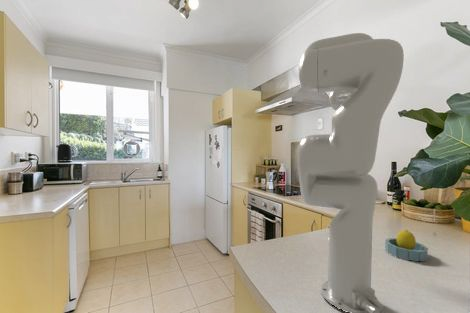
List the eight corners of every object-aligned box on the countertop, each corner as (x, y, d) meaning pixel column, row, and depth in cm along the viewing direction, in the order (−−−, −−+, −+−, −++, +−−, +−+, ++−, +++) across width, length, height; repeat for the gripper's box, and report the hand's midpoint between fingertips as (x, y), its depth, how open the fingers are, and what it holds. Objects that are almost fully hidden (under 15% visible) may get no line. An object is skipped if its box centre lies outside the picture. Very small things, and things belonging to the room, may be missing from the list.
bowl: (436, 259, 77) (436, 249, 77) (409, 263, 74) (409, 253, 74) (402, 245, 89) (403, 237, 89) (378, 248, 86) (378, 239, 86)
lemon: (397, 247, 85) (397, 226, 85) (415, 251, 82) (416, 229, 81) (395, 252, 81) (396, 230, 81) (415, 256, 77) (415, 233, 77)
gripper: (370, 128, 82) (370, 175, 82) (320, 129, 88) (319, 173, 88) (376, 125, 75) (375, 176, 75) (321, 127, 81) (320, 174, 81)
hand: (345, 174), depth 81 cm, fingers open, 9 cm apart
